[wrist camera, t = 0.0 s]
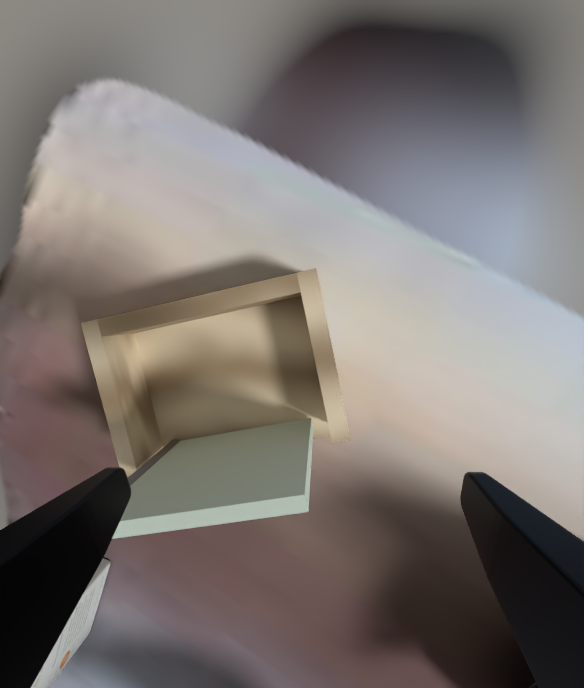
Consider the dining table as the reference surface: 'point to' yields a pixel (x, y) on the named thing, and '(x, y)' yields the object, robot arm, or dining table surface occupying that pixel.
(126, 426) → the wooden tray
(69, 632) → the small box
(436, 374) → the dining table surface
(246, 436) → the door
